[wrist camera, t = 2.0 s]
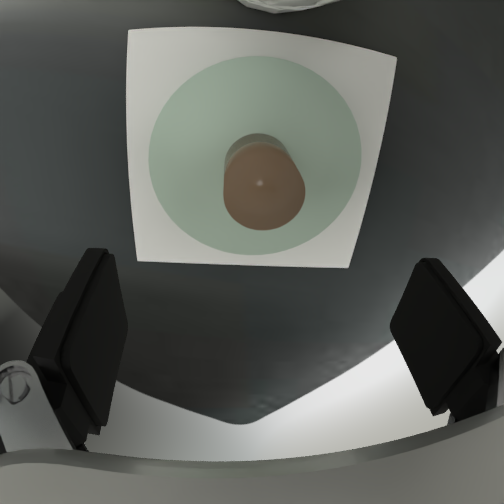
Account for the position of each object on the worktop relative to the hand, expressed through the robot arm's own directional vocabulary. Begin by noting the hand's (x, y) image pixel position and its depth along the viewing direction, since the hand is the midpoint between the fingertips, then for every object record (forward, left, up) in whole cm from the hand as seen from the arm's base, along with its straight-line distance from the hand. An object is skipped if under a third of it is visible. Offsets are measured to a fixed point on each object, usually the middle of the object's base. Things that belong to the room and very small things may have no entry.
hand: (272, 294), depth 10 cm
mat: (0, -1, -11) cm, 11 cm away
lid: (0, -1, -11) cm, 11 cm away
